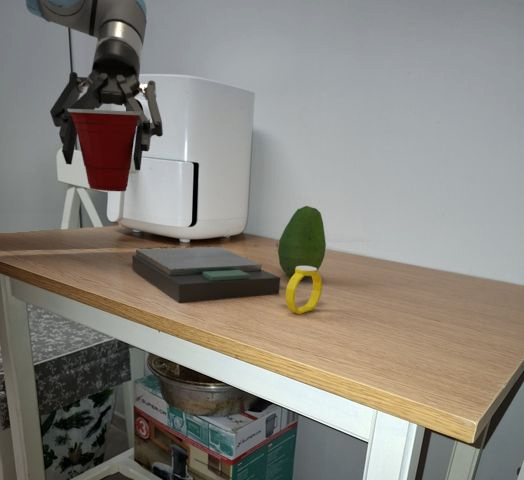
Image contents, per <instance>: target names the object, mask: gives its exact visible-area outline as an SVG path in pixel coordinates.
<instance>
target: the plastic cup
mask: <svg viewBox="0 0 524 480" xmlns="http://www.w3.org/2000/svg"><path fill="white" fill-rule="evenodd" d="M67 110H68V112H70V115H71V117H72V118H73V122H74V124H75V128H76V130H77V138H78V143H79V148H80V152H81V157H82V162H83V166H84V169H85V173H86V179H87V184H88V186H89V189H91V190H95V191H103V192H104V191H105V192H126V191H127V187H128V184H129V177H130V170H131V166H132V159H133V153H134V146H135V138H136V131H137V121H138V118H139V116H138V115H140V113H141V112H132V111H127V110H110V109H109V110H107V109H94V110H86V109H67Z"/></svg>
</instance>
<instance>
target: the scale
mask: <svg viewBox="0 0 524 480" xmlns="http://www.w3.org/2000/svg"><path fill="white" fill-rule="evenodd" d="M131 260H132V261H131V262H132V263H131V268H132V269H131V270H132V271H133V272H134V273H136V274H137V275H139V276H140V277H141V278H143V279H144V280H145V281H147V282H149V283H150V284H151V285H153V286H154V287H156V288H157V289H158V290H160V291H161V292H163V293H165V294H166V295H167V296H169V297H170V298H171V299H173V300H174V301H176V302H177V303H178V304H179V303H189V302H190V303H191V302H203V301H214V300H223V299H225V300H226V299H238V298H247V297H248V298H249V297H258V296H269V295H270V296H271V295H279V294H280V286H281V285H280V284H281V277H279V276H278V275H275V274H274V273H270V272H268V271H267V270H263V268H262V267H263V265H262V263H259V262H257V261H254V260H252V259H250V258H247V257H245V256H242V255H240V254H237V253H235V252H232V251H231V250H227V249H225V248H222V247H221V246H209V247H171V248H170V247H169V248H167V247H165V248H136V249H135V254H132V255H131Z"/></svg>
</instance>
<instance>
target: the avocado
mask: <svg viewBox="0 0 524 480" xmlns="http://www.w3.org/2000/svg"><path fill="white" fill-rule="evenodd" d="M288 221H289V222H288V223H287V225H286V226H285V228H284V229H283V231H282V234H281V236H280V238H279V242H278V248H277V254H278V263H279V266H280V268H281V270H282V271H283V273H284V274H285V276H287V277H289V278H291V277H292V276H293V275H294V274H295V268H296V267H297V266H311V267H315V268H317V272H318V271H319V270H320V268H321V266H322V264H323V262H324V259H325V256H326V248H327V242H326V236H325V235H326V234H325V225H324V221H323V217H322V213H321V212H320V211H319V209H317V208H316V207H313V206H308V205H305V206H302V207H300V208H298V209H297V210H296V211H295V212H294V213H293V214H292V216H291V218H290V220H288ZM309 278H312V276H304V277H303V278H302V279H301V280H306V279H309ZM301 280H300V281H301Z"/></svg>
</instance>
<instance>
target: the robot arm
mask: <svg viewBox="0 0 524 480" xmlns="http://www.w3.org/2000/svg"><path fill="white" fill-rule="evenodd" d="M25 7H26V9H27V11H28V12H29V13H30V14H31V15H34V16H35V17H38V18H41V19H44V20H45V21H46V22H48V23H53V24H57V25H59V26H63V27H66V28H68V29H71V30H74V31H77V32H79V33H83V34H86V35H88V36H90V37H92V38H96V39H97V41H96V45H95V51H94V56H93V59H92V65H91V66H92V67H91V72H90V73H89V74H88V75H87V77H86V76H85V77H84V76H79V75H78V73H77V72H75V71H71V72H70V73H69V76H68V82H67V83H66V85H65V87H64V88H63V90H62V92H61V93H60V94H59V96H58V98H56V100H55V102H54V104H53V105H52V107H51V109H50V111H49V113H50V116H51V120H52V122H53V125H54V127H56V128H59V132H58V135H59V139H60V142H61V144H62V148H61V152H62V156H63V158H64V162H65V164H66V165H72V163H73V159H74V158H73V157H74V152H75V148H76V142H77V138H78V134H77V130H76V128H75V124H74V122H73V118H72V117H71V115H70V112H68V110H67V109H86V110H99V109H100V108H101V106H102V105H116V106H124V107H125V110H126V111H132V112H141V113H140V115H138V116H139V118H138V121H137V126H136V134H135V138H134V146H133V154H132V159H133V165H134V171H141V169H142V168H141V167H142V157H143V152H149V150H150V148H151V147H150V146H151V138H152V137H153V136H156V137H159V138H160V137H162V136H163V135H164V129H163V121H162V117H161V112H160V109H159V105H158V102H157V87H156V81H155V80H148V82H147V83H141V82H140V75H141V73H140V72H141V65H142V59H143V49H144V41H145V36H146V27H147V22H148V21H147V5H146V2H145V0H25ZM85 88H87V89H86V92H85V93H84V90H85ZM140 93H141V94H142V97H144V100H146V101H147V107H148V111H149V115H150V118H147V116H146V114H145V113H144V111H143V109H142V108H141V106H140V104H139V103H138V101H137V99H136V97H137V96H138V95H139V94H140ZM81 94H82V95H81ZM150 120H151V121H150Z"/></svg>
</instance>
